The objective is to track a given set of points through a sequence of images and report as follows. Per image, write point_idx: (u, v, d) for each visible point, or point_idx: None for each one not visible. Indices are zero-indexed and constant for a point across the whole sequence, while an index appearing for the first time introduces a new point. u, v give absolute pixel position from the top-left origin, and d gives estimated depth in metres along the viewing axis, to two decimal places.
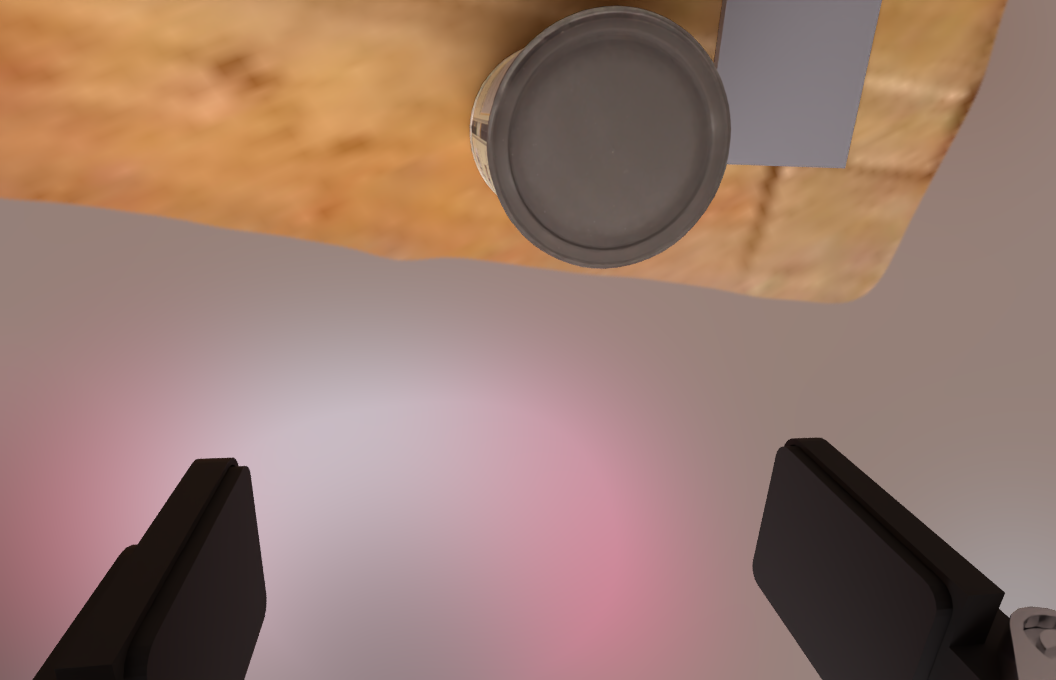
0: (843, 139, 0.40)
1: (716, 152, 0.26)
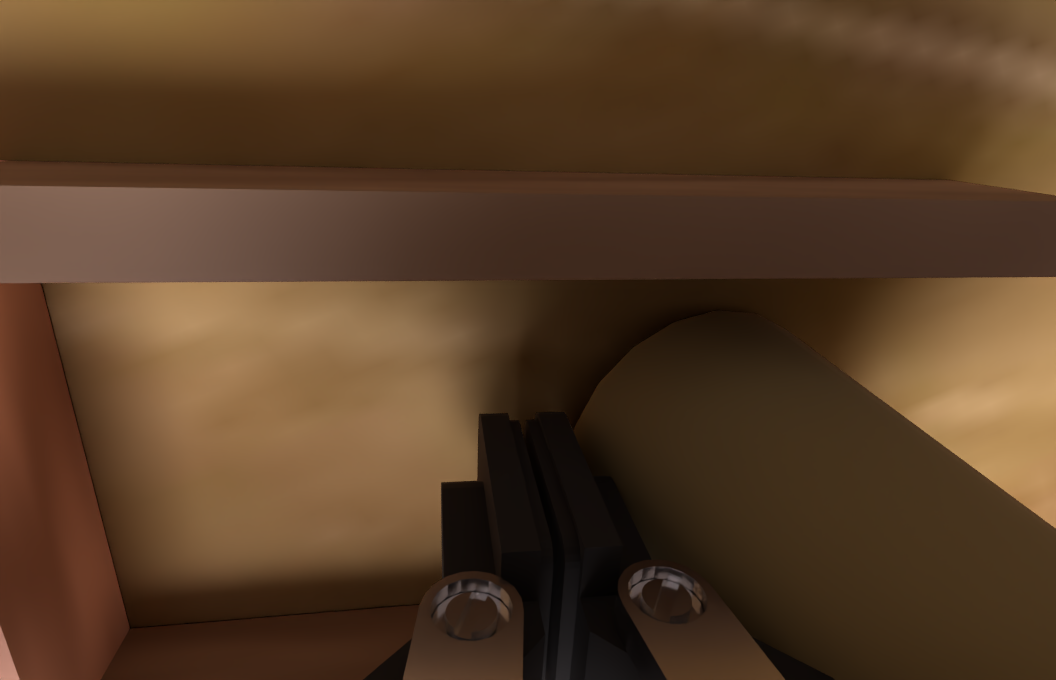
0: None
1: None
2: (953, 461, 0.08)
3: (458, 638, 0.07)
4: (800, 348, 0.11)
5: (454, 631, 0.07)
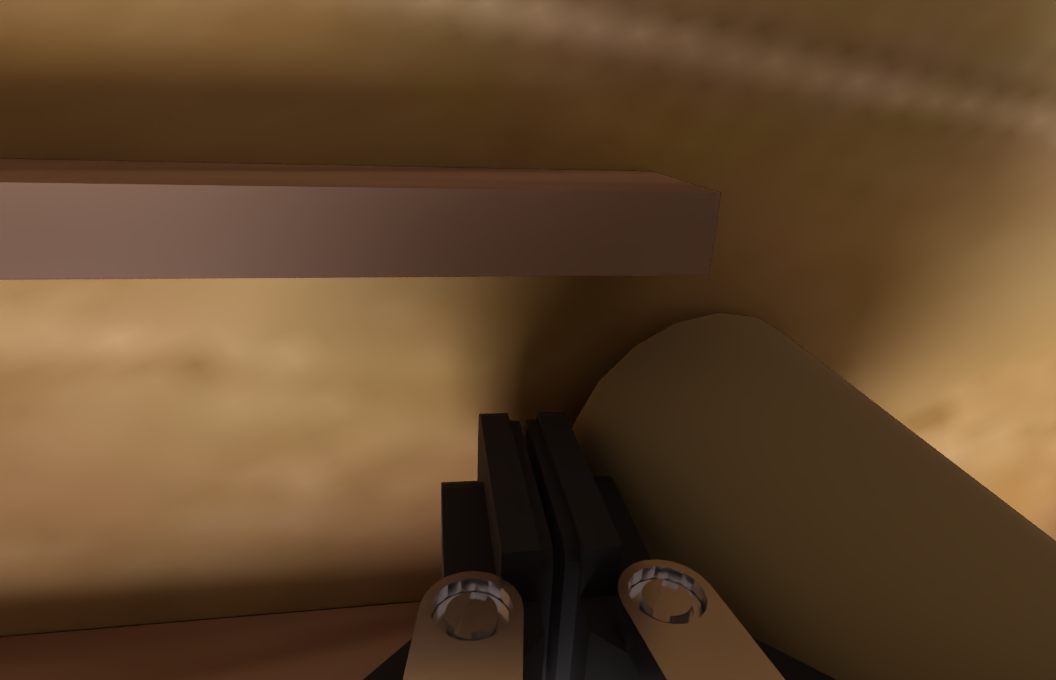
0: None
1: None
2: (949, 467, 0.09)
3: (458, 638, 0.07)
4: (799, 352, 0.11)
5: (454, 631, 0.07)
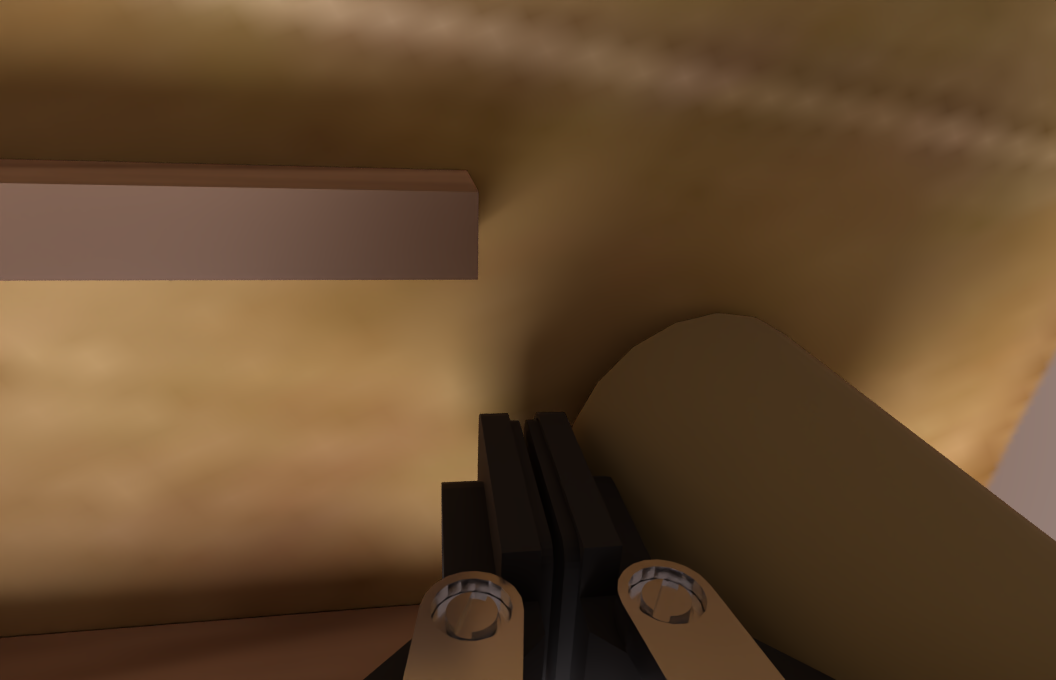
0: None
1: None
2: (949, 467, 0.09)
3: (458, 638, 0.07)
4: (799, 352, 0.11)
5: (454, 631, 0.07)
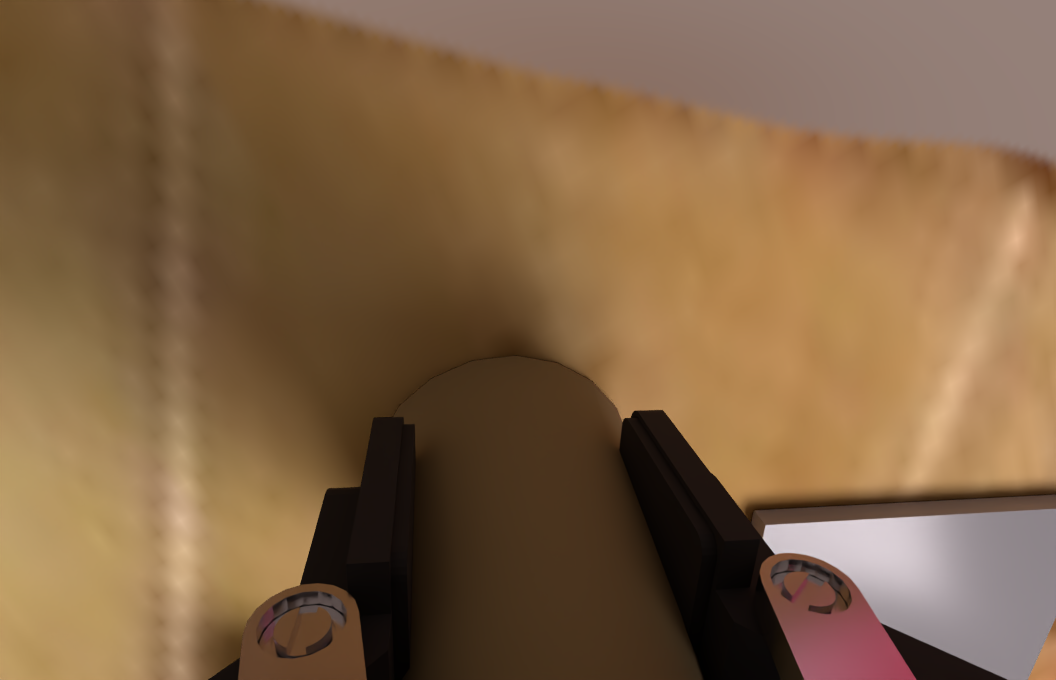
0: (1042, 525, 0.17)
1: None
2: None
3: (291, 657, 0.06)
4: None
5: (286, 651, 0.07)
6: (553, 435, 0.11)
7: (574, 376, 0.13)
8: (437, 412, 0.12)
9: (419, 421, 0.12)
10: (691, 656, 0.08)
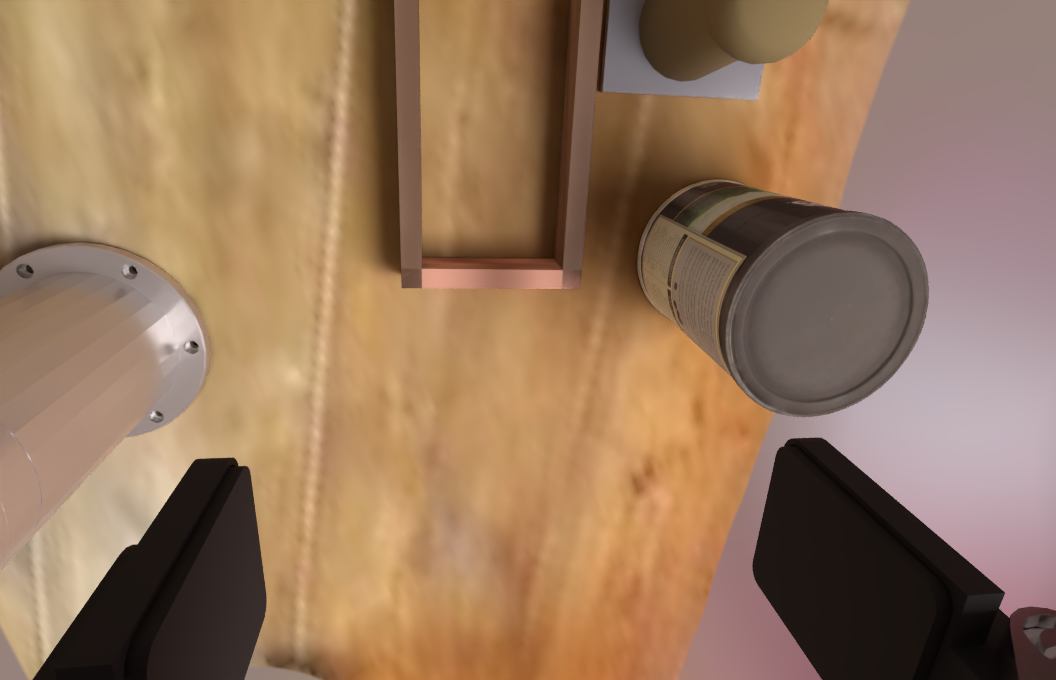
0: None
1: (852, 225, 0.28)
2: None
3: None
4: (654, 2, 0.34)
5: None
6: None
7: None
8: None
9: None
10: None
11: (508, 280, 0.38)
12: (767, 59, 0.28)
